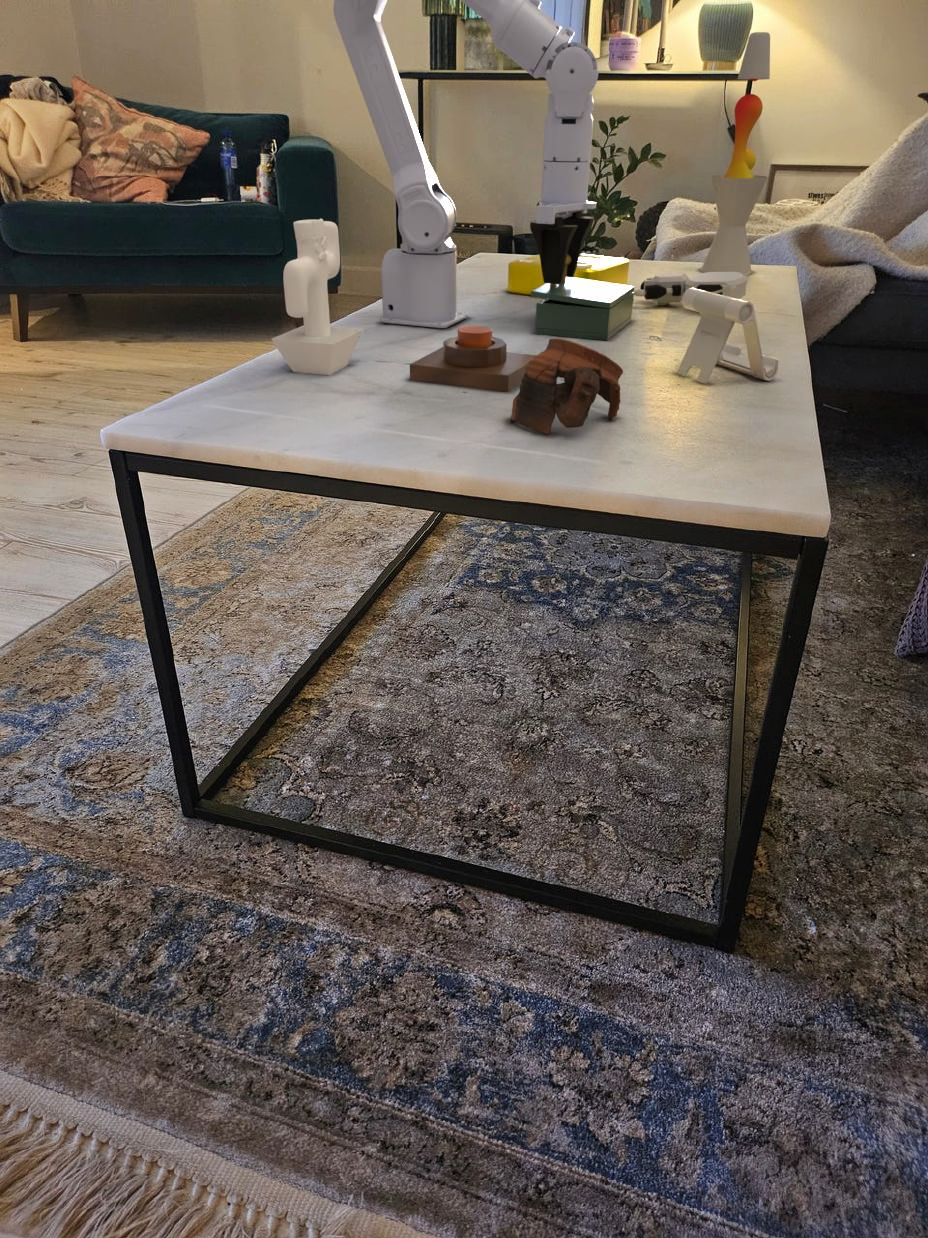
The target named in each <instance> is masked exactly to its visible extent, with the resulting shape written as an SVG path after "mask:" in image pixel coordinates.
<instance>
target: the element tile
mask: <svg viewBox="0 0 928 1238" xmlns="http://www.w3.org/2000/svg"><path fill="white" fill-rule="evenodd" d="M507 266H508V268H507V291H508V292H509V293H512V294H518V295H527V296H531V291H532V290H534V289H536V288H538V287H540V286H542V285H544V284H546V283H544V280H543V275H542V268H541V262H540V256H539V254H535V255H532V256H527V257H524V258H519V259H516V260H511V261H509V262H508V265H507ZM629 268H630V260H629V259H628V258H625V257H614V256H604V255H596V254H587V253H580V256H579V260H578V263H577V267H576V271H575V274H574V276H573V277H572V278H579V279H586V280H593V281H600V282H607V283H614V284H621V285H628V279H629Z"/></svg>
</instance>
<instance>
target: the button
mask: <svg viewBox="0 0 928 1238" xmlns="http://www.w3.org/2000/svg"><path fill="white" fill-rule="evenodd" d="M457 337H458V345H460V346H464V347H486V346H491V345H492V337H493V328H492V327H489V326H484V325H463V326H460V327H459V328H457Z"/></svg>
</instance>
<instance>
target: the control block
mask: <svg viewBox="0 0 928 1238" xmlns="http://www.w3.org/2000/svg"><path fill="white" fill-rule="evenodd" d="M442 344H443V345H442V347H440V348H438V349H436V350H434V351H432V352H431V353H429V354H426V355H425V356H423V357H421V358H419V359H418V360H415V361H413V362H412V363H410V364H409V381H413V382H420V383H429V384H437V385H445V386H454V387H462V388H470V389H479V390H486V391H487V390H488V391H494V392H495V391H497V392H504V393H509V392H510V391H512V390H513V389H515V387H518V385H521V383H522V382H521V380H522V378H523V376H524V374H525V373H526V371H525V367H526V366H527V365H528V363H529V361H530V360H532V359H533V358H534V357H535V356H536V355H537V354H536V355H535V354H527V353H526V354H525V353H517V352H509V351H507V347H508V346H507V345H508V344H507V342H506V341H505V340H504V339H502V338H499V337H496V336H495V337H494V336H492V345H491V346H486V347H464V346H460V345H458V336H454V337H449V338H447V339H445V340H444V341H443V342H442Z"/></svg>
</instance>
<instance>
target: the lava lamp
mask: <svg viewBox="0 0 928 1238" xmlns="http://www.w3.org/2000/svg"><path fill="white" fill-rule="evenodd" d="M770 71H771V34H770V32H767V31H756V32H751V33H750V34H749V36H748V40H747V43H746V47H745V50H744V53H743V58H742V62H741V65H740V69H739V72H738V77H737V80H741V81H742V80H745V81H748V80H750V81H752V82H757V81H758V80H762V81H763V80H770V78H771V77H770V76H771V74H770V73H771V72H770ZM763 107H764V106H763V102H762V100H761V97H759V96H758V95H756V94H754V93H747V94H745V95H743V96H741V97H740V98H739V99H738V100H737V102H736V104H735V106H734V133H735V136H734V147H733V153H732V156H731V161H730V164H729V166H728V168H727V170H726V172H725V174H713V175H711V182H712V187H713V193H714V199H715V205H716V211H717V216H718V222H719V225H718V228H717V230H716V232H715V234H714V237H713V240H712V242H711V245H710V247H709V249H708V252H707V254H706V257H705V259H704V261H703V263H702V266H701V268H700V271H701V272H700V273H706V272H739V273H742V274H745V273H750V274H749V275H751V274H752V273H753V272H752V266H751V265H752V264H751V258H750V249H749V243H748V235H747V227H746V226H747V223H748V220H749V218H750V216H751V214H752V212H753V210H754V208H755V206H756V204H757V201H758V200H759V198H760V195H761V194H762V191H763V189H764V187H765V185H766V183H767V180H768V176H764V175H757V174H756V175H755V174H753V173H752V172H751V170H752V169H754V167H755V165H756V159H757V158H756V153H754V151H753V150H752V149H748V148H747V147H748V141H749V137H750V135H751V133H752V130H753V129H754V127H755V125H756V123H757V122H758V120H759V118H760V117H761V115H762V113H763Z"/></svg>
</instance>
